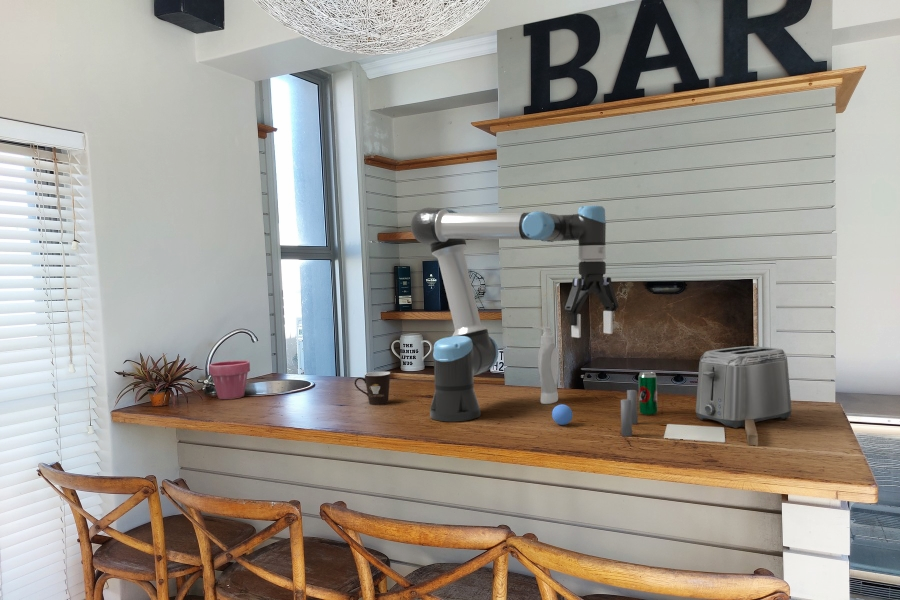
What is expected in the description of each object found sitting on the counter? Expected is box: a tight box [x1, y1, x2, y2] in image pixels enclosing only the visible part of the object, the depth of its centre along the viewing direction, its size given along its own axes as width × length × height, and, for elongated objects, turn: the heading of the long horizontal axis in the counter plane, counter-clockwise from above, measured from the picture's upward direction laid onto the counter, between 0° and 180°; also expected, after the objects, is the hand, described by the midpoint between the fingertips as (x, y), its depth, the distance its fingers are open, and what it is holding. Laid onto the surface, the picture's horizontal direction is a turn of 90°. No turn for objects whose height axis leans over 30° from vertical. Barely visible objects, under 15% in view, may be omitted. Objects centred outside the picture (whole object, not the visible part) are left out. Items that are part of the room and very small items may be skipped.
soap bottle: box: [531, 326, 559, 405], centre depth 201 cm, size 13×8×24 cm, turn 151°
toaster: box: [695, 345, 793, 429], centre depth 170 cm, size 17×30×19 cm, turn 113°
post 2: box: [626, 389, 639, 425], centre depth 169 cm, size 3×3×9 cm
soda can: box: [637, 371, 658, 416], centre depth 179 cm, size 5×5×12 cm
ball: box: [551, 403, 574, 426], centre depth 170 cm, size 6×6×6 cm
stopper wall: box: [744, 419, 759, 447], centre depth 152 cm, size 2×16×2 cm, turn 157°
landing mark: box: [663, 423, 726, 444], centre depth 157 cm, size 14×14×1 cm
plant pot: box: [208, 360, 251, 400], centre depth 228 cm, size 14×14×13 cm
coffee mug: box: [354, 371, 391, 406], centre depth 208 cm, size 12×9×10 cm
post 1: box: [620, 398, 633, 437], centre depth 157 cm, size 3×3×9 cm
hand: (592, 335), depth 176 cm, fingers open, 13 cm apart
